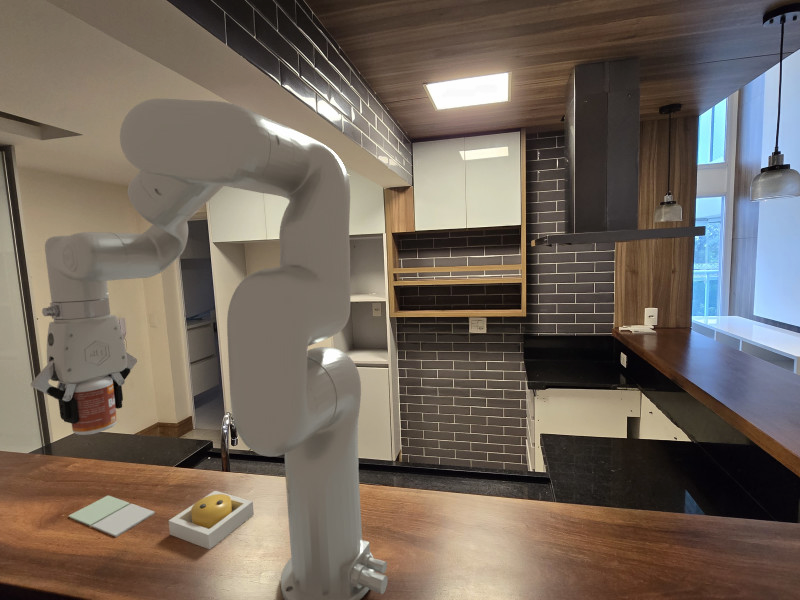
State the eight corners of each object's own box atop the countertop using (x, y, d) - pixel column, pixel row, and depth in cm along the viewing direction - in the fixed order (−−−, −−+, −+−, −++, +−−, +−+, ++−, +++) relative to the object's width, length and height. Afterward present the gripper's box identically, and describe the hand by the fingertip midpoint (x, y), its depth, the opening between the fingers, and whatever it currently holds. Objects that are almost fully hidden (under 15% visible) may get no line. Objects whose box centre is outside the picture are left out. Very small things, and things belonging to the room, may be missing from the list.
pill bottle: (120, 427, 70) (114, 365, 69) (75, 439, 66) (67, 373, 64) (113, 417, 74) (107, 358, 73) (70, 428, 70) (63, 365, 69)
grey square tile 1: (155, 513, 71) (154, 511, 71) (116, 537, 65) (115, 535, 65) (131, 505, 74) (131, 503, 74) (92, 527, 68) (92, 525, 68)
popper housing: (253, 514, 70) (252, 501, 69) (209, 549, 62) (208, 534, 61) (216, 502, 74) (215, 490, 73) (170, 534, 65) (168, 520, 65)
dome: (240, 515, 69) (238, 497, 69) (210, 537, 64) (208, 518, 63) (215, 507, 71) (213, 490, 71) (184, 528, 66) (182, 510, 66)
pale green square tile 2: (129, 504, 74) (129, 502, 74) (90, 526, 68) (90, 524, 68) (108, 496, 77) (108, 495, 77) (68, 517, 71) (68, 515, 71)
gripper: (30, 319, 58) (45, 439, 60) (147, 305, 74) (156, 400, 76) (3, 317, 61) (19, 431, 63) (121, 303, 77) (131, 395, 79)
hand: (94, 413), depth 70 cm, fingers closed on pill bottle, 6 cm apart
